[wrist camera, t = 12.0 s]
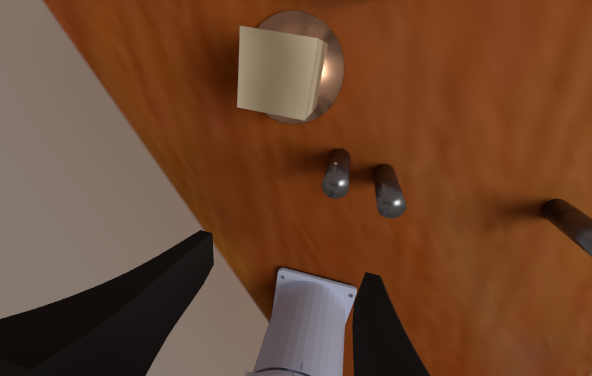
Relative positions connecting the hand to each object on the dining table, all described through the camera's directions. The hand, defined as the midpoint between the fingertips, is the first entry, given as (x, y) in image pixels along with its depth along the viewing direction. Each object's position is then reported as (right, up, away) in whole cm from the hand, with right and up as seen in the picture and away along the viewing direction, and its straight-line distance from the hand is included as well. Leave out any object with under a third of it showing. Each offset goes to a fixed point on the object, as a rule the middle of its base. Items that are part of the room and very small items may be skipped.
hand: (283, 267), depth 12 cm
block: (0, +12, +6) cm, 13 cm away
